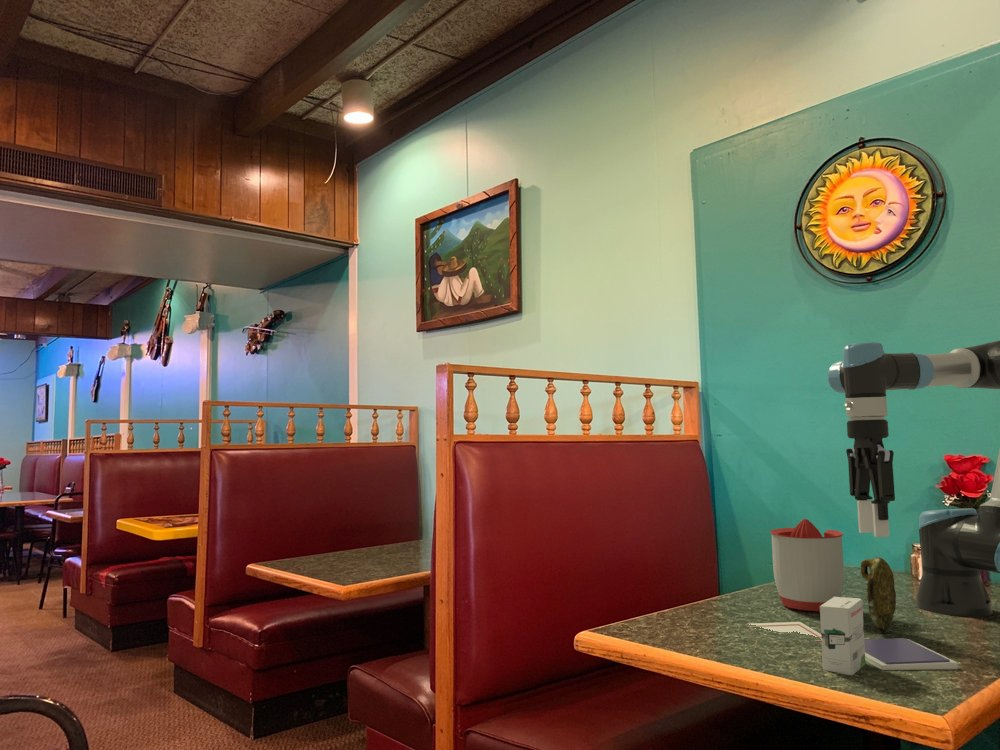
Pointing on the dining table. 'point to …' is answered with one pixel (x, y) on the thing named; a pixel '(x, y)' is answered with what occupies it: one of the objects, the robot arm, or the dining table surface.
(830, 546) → the citrus juicer
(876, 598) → the brown mottled tapered part
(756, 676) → the dining table surface
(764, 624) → the paper
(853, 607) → the ink box
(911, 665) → the ink pad
